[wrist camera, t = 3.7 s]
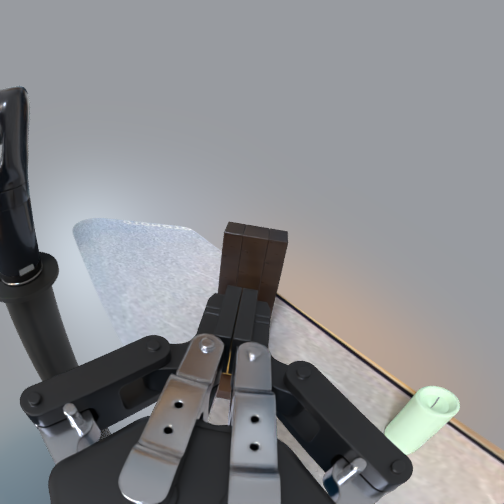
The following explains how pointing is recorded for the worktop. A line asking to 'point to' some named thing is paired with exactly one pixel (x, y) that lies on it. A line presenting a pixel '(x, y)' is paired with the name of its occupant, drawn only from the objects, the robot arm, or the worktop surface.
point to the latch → (251, 268)
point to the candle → (422, 418)
